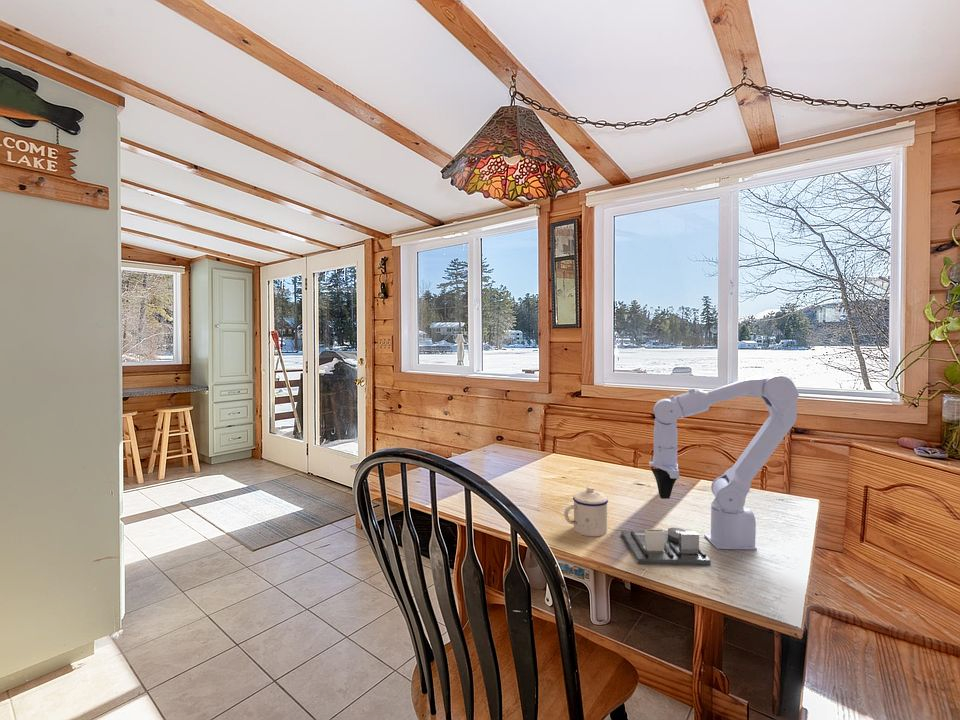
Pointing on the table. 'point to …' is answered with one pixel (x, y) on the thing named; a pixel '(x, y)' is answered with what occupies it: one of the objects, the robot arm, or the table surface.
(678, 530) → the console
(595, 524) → the teacup with lid
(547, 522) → the table surface
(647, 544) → the fader
